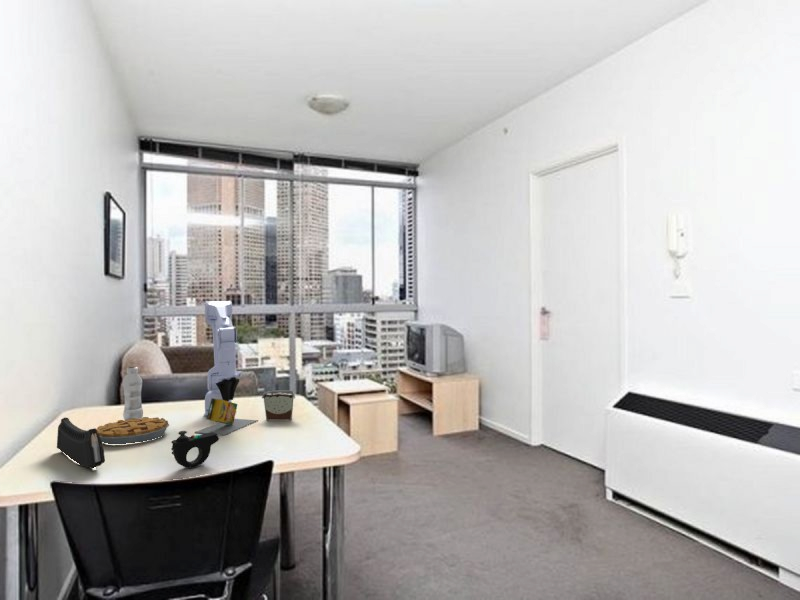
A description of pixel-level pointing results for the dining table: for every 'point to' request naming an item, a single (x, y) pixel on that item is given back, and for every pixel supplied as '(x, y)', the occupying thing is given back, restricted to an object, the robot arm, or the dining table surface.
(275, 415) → the food container
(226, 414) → the crayon box
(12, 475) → the dining table surface
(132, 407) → the plastic bottle
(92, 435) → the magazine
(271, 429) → the dining table surface
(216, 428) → the rubber mat
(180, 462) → the controller
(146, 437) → the pie
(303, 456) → the dining table surface
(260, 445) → the dining table surface
